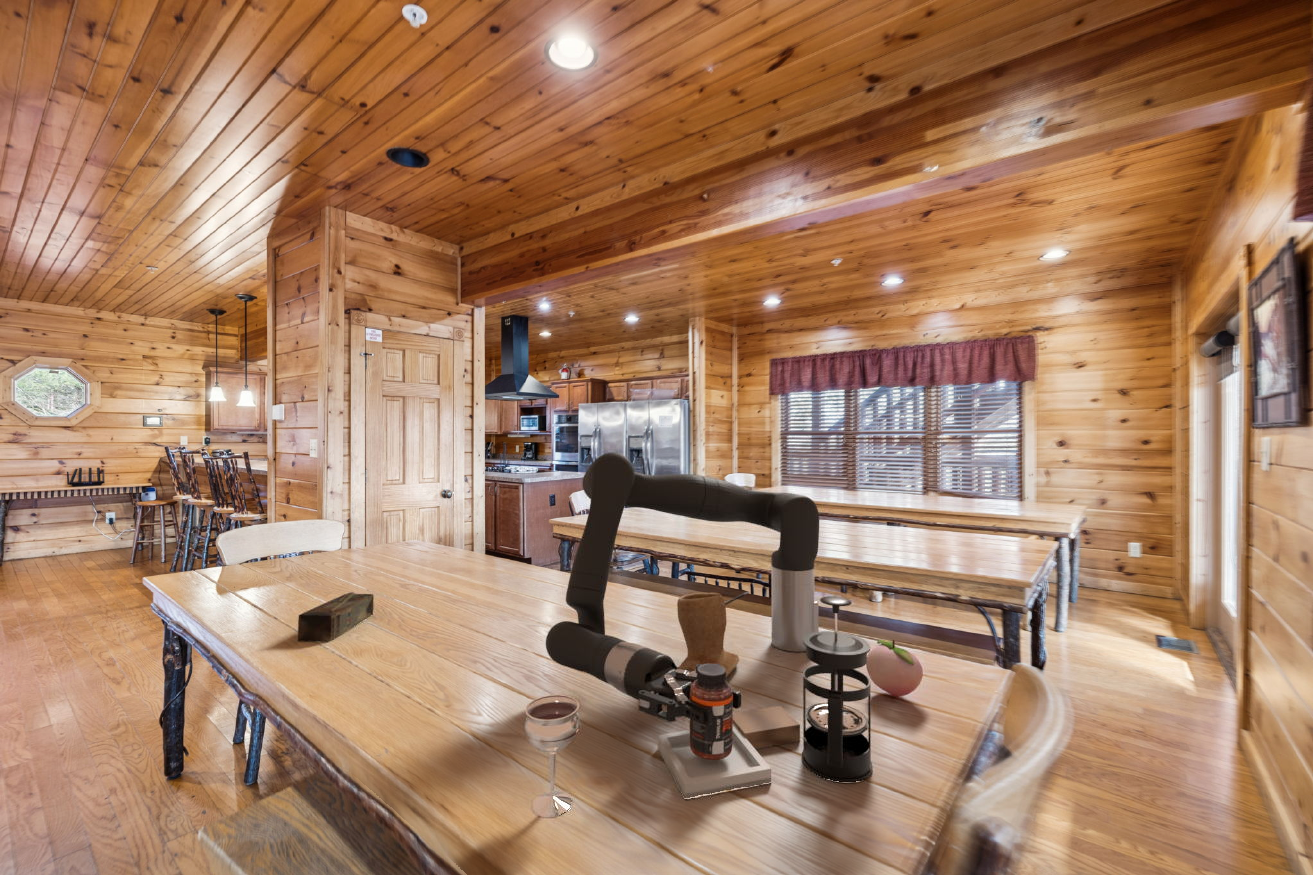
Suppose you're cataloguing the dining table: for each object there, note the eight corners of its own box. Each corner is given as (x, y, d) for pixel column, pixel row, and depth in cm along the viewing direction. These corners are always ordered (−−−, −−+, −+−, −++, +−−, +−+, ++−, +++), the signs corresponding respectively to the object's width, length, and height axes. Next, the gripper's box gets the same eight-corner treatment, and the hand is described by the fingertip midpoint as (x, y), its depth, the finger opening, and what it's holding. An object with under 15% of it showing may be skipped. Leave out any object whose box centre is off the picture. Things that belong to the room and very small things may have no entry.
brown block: (780, 721, 88) (780, 705, 88) (800, 741, 82) (799, 724, 82) (728, 729, 85) (728, 713, 85) (744, 750, 80) (744, 733, 80)
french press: (804, 737, 83) (804, 585, 83) (871, 748, 80) (870, 591, 80) (797, 782, 72) (797, 608, 72) (874, 798, 69) (873, 615, 69)
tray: (733, 736, 84) (733, 723, 84) (771, 783, 72) (771, 768, 72) (658, 748, 80) (658, 734, 80) (684, 800, 69) (684, 784, 69)
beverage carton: (375, 616, 142) (375, 590, 142) (330, 643, 123) (330, 614, 123) (344, 616, 142) (345, 590, 142) (295, 643, 123) (295, 614, 123)
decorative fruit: (854, 690, 99) (854, 634, 99) (888, 682, 102) (888, 628, 102) (896, 714, 90) (896, 653, 90) (932, 704, 93) (931, 645, 94)
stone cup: (691, 653, 116) (691, 582, 116) (745, 663, 111) (745, 589, 111) (659, 681, 103) (659, 601, 103) (718, 694, 97) (718, 610, 97)
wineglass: (513, 814, 66) (513, 714, 66) (543, 781, 72) (543, 690, 73) (562, 828, 64) (562, 725, 64) (589, 793, 70) (589, 699, 70)
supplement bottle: (731, 765, 73) (731, 680, 73) (686, 759, 74) (686, 676, 74) (734, 740, 78) (734, 662, 78) (692, 735, 80) (693, 658, 80)
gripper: (604, 661, 81) (691, 699, 69) (670, 636, 91) (756, 665, 80) (604, 712, 81) (691, 759, 69) (670, 681, 91) (755, 717, 80)
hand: (725, 709), depth 74 cm, fingers closed on supplement bottle, 6 cm apart
